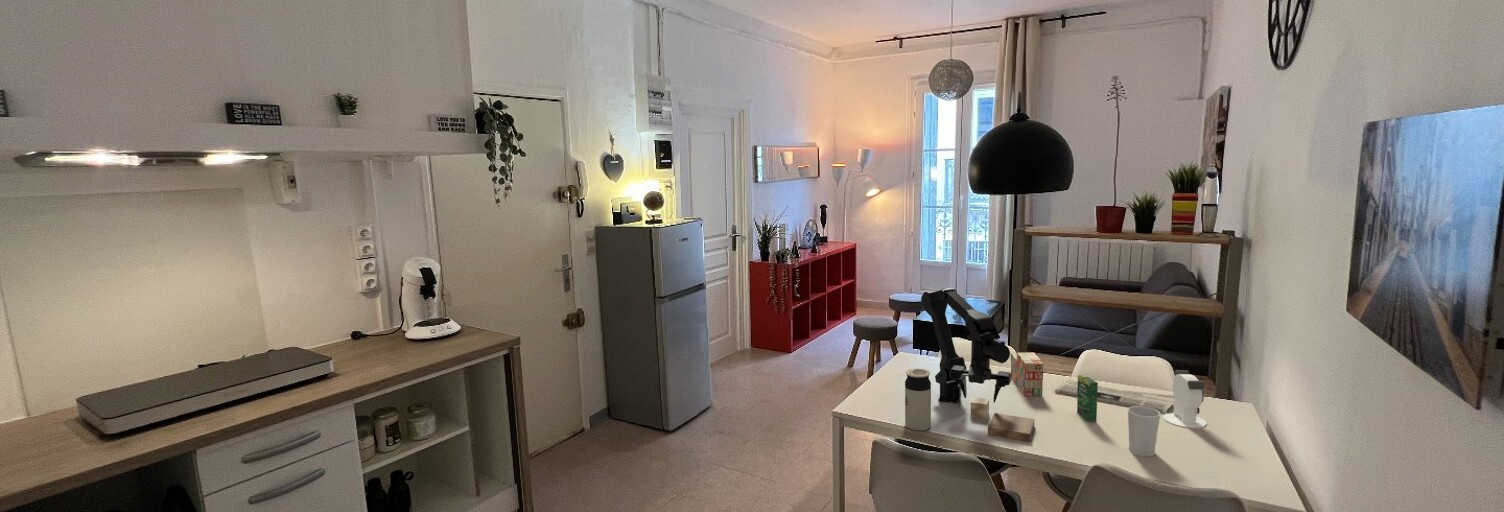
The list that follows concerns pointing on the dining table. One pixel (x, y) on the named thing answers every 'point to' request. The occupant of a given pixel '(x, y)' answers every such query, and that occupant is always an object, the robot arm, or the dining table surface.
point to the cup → (1143, 430)
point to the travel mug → (918, 399)
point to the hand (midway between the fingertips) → (979, 399)
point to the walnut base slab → (1011, 427)
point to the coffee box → (1087, 398)
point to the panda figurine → (1186, 401)
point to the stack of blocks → (1027, 373)
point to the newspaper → (1122, 397)
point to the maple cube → (979, 407)
